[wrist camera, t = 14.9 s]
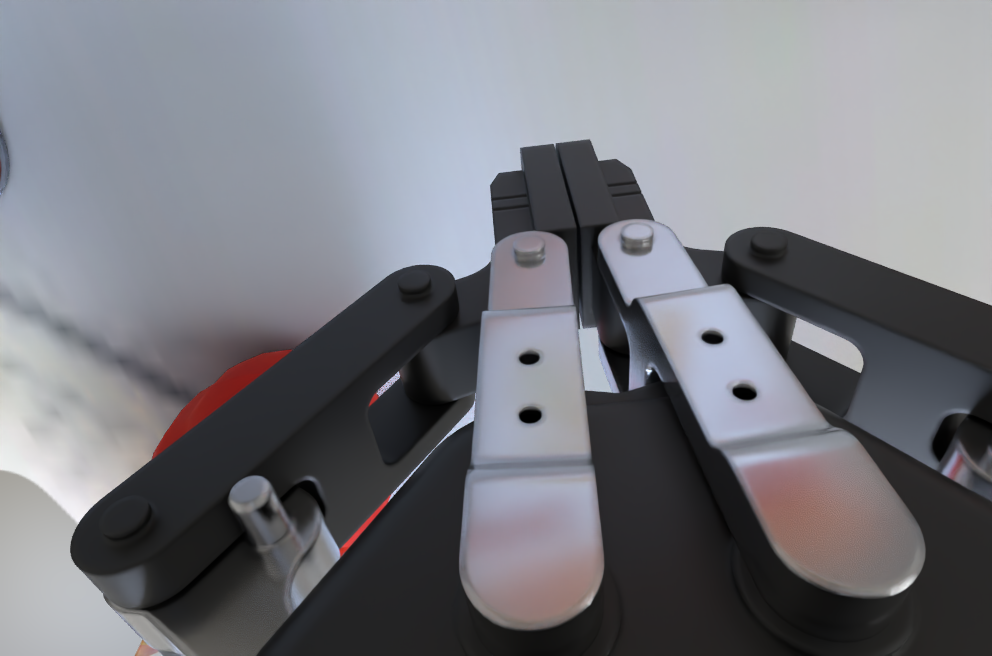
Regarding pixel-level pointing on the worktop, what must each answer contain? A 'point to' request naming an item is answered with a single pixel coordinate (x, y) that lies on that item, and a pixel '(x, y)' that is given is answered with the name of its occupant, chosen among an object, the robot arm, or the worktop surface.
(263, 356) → the tomato
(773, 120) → the worktop surface
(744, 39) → the worktop surface
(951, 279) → the worktop surface
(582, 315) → the robot arm
